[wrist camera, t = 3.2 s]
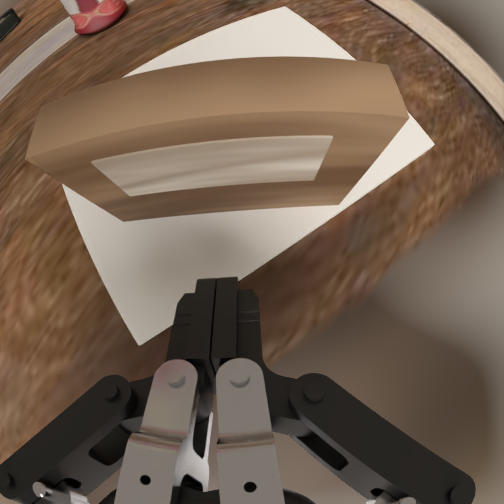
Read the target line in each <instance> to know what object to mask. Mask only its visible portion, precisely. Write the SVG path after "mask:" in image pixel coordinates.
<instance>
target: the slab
mask: <svg viewBox="0 0 504 504" xmlns="http://www.w3.org/2000/svg"><path fill="white" fill-rule="evenodd" d="M408 119H409V115H408V112H407V109H406V107H405V104H404V102H403V99H402V97H401V94H400V92H399V89H398V87H397V84H396V82H395V80H394V78H393V75H392V73H391V71H390V69H389V67H388V65H386V64H379V63H373V62H365V61H357V60H348V59H337V58H322V57H293V56H278V57H249V58H234V59H223V60H214V61H205V62H198V63H191V64H184V65H178V66H172V67H167V68H162V69H157V70H152V71H147V72H143V73H139V74H135V75H131V76H127V77H123V78H119V79H115V80H112V81H108V82H105V83H102V84H98V85H95V86H92V87H89V88H86V89H83V90H80V91H77V92H74V93H72V94H69V95H66V96H64V97H61V98H58V99H56V100H53V101H51V102H49V103H46V104H44V105H41V106H40V109H39V112H38V115H37V118H36V121H35V124H34V128H33V131H32V134H31V138H30V142H29V145H28V149H27V153H26V157H25V159H26V160H27V161H29V162H30V163H32V164H33V165H35V166H36V167H38V168H39V169H41V170H42V171H44V172H45V173H47V174H48V175H50V176H51V177H53V178H54V179H56V180H57V181H59V182H60V183H62V184H64V185H65V186H67V187H68V188H70V189H71V190H73V191H74V192H76V193H78V194H79V195H81V196H82V197H84V198H86V199H87V200H89V201H90V202H92V203H94V204H95V205H97V206H98V207H100V208H102V209H103V210H105V211H106V212H108V213H110V214H111V215H113V216H115V217H116V218H118V219H119V220H121V221H123V222H127V221H135V220H144V219H154V218H163V217H173V216H183V215H194V214H205V213H217V212H229V211H243V210H257V209H272V208H289V207H308V206H330V205H339V204H340V203H341V202H342V201H343V199H344V198H345V197H346V196H347V195H348V193H349V192H350V191H351V190H352V189H353V187H354V186H355V185H356V184H357V183H358V181H359V180H360V179H361V178H362V177H363V175H364V174H365V173H366V172H367V171H368V169H369V168H370V167H371V166H372V164H373V163H374V162H375V161H376V159H377V158H378V157H379V156H380V155H381V153H382V152H383V151H384V150H385V148H386V147H387V146H388V145H389V143H390V142H391V141H392V140H393V138H394V137H395V136H396V135H397V133H398V132H399V131H400V129H401V128H402V127H403V126H404V124H405V123H406V122H407V121H408Z"/></svg>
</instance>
